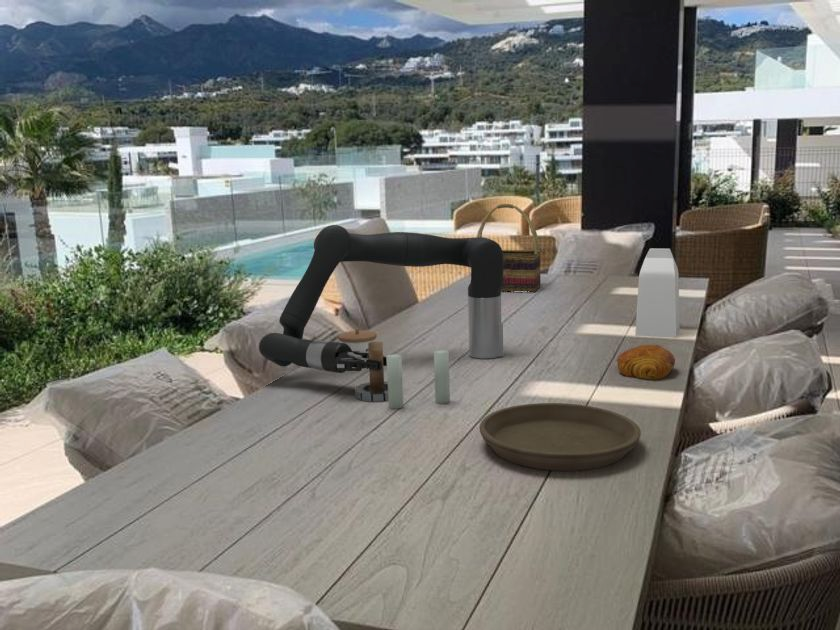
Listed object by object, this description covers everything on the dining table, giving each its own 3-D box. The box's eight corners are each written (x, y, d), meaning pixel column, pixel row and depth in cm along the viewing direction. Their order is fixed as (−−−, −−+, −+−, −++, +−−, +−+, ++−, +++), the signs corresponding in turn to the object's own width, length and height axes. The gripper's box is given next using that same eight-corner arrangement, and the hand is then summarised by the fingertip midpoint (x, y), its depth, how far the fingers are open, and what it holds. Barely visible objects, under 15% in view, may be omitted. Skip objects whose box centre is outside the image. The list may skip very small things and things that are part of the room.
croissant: (678, 375, 220) (680, 345, 219) (668, 383, 206) (670, 350, 205) (622, 369, 226) (625, 340, 225) (609, 376, 212) (611, 344, 211)
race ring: (399, 387, 209) (399, 380, 209) (401, 400, 199) (401, 393, 198) (355, 389, 209) (355, 382, 208) (355, 402, 198) (354, 395, 198)
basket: (471, 291, 343) (469, 205, 336) (480, 285, 357) (478, 202, 350) (535, 293, 335) (535, 204, 328) (542, 287, 348) (541, 202, 342)
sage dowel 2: (449, 399, 198) (447, 349, 196) (450, 403, 195) (449, 353, 193) (434, 399, 198) (433, 350, 196) (436, 404, 195) (434, 353, 193)
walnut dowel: (384, 389, 205) (382, 341, 203) (384, 393, 202) (382, 344, 200) (370, 389, 205) (368, 341, 203) (370, 393, 202) (368, 345, 199)
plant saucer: (646, 428, 175) (646, 407, 174) (632, 485, 146) (632, 460, 145) (500, 417, 185) (500, 397, 184) (460, 468, 156) (460, 444, 155)
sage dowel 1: (403, 404, 196) (401, 353, 194) (403, 408, 193) (401, 357, 190) (388, 404, 196) (386, 354, 193) (388, 409, 192) (386, 358, 190)
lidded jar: (372, 366, 230) (370, 333, 229) (334, 365, 233) (332, 332, 231) (381, 357, 241) (380, 324, 239) (345, 356, 243) (344, 324, 241)
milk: (635, 335, 256) (636, 250, 251) (640, 327, 267) (641, 246, 262) (676, 337, 252) (678, 251, 247) (679, 329, 262) (682, 246, 257)
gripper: (310, 347, 203) (368, 355, 194) (345, 335, 215) (401, 342, 206) (311, 377, 204) (370, 386, 195) (346, 364, 216) (402, 372, 207)
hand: (386, 363), depth 201 cm, fingers closed on walnut dowel, 3 cm apart
